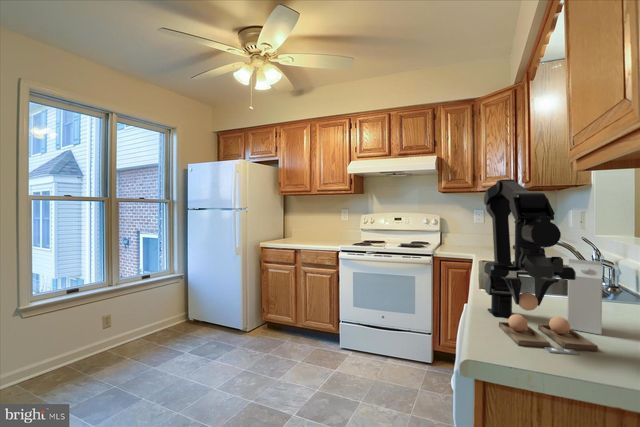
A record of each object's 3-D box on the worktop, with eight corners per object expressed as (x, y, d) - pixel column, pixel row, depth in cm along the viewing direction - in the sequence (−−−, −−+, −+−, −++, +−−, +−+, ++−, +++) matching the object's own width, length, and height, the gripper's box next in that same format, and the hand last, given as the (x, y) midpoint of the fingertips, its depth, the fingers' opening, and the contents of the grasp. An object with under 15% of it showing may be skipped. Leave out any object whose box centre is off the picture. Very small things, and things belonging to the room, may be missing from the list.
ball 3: (545, 329, 87) (545, 313, 87) (563, 331, 86) (564, 314, 86) (554, 336, 82) (554, 319, 82) (573, 337, 82) (573, 320, 82)
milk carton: (568, 322, 94) (569, 257, 94) (600, 327, 90) (601, 260, 89) (567, 329, 89) (568, 260, 88) (601, 335, 84) (602, 263, 84)
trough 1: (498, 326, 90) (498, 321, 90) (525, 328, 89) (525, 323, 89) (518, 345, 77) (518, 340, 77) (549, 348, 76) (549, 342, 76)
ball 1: (505, 327, 89) (505, 311, 88) (523, 328, 88) (523, 312, 88) (512, 333, 84) (512, 316, 84) (530, 334, 83) (530, 317, 83)
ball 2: (514, 306, 83) (514, 290, 83) (532, 307, 82) (533, 290, 82) (521, 312, 79) (521, 294, 79) (541, 313, 78) (541, 295, 78)
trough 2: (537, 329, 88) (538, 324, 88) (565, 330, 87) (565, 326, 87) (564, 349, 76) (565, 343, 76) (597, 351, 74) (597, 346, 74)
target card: (544, 348, 76) (544, 346, 76) (572, 350, 75) (572, 348, 75) (549, 352, 74) (549, 351, 74) (578, 354, 73) (578, 353, 73)
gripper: (499, 245, 74) (498, 312, 74) (591, 247, 71) (590, 317, 71) (484, 240, 85) (483, 299, 85) (562, 242, 82) (561, 303, 82)
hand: (527, 304), depth 81 cm, fingers closed on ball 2, 4 cm apart
